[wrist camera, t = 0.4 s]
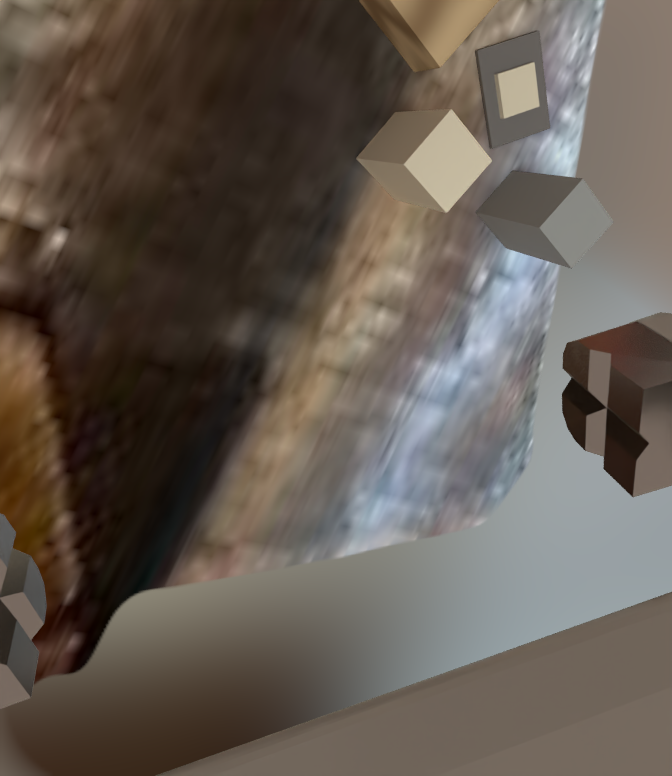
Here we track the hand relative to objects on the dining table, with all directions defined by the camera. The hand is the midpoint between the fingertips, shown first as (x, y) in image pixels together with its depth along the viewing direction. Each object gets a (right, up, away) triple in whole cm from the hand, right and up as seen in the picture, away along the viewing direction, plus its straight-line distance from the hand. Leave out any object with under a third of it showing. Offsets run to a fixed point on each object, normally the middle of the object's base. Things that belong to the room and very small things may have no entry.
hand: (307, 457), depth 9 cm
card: (+16, +27, +47) cm, 56 cm away
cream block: (+5, +21, +45) cm, 50 cm away
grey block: (+17, +18, +51) cm, 56 cm away
